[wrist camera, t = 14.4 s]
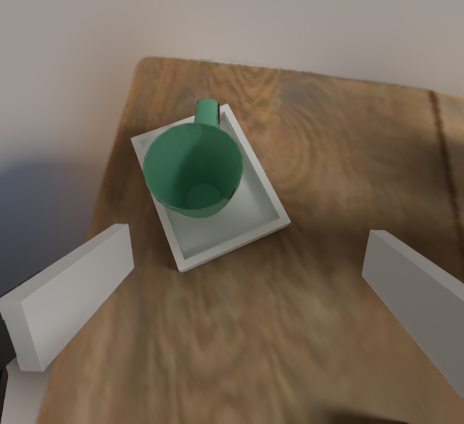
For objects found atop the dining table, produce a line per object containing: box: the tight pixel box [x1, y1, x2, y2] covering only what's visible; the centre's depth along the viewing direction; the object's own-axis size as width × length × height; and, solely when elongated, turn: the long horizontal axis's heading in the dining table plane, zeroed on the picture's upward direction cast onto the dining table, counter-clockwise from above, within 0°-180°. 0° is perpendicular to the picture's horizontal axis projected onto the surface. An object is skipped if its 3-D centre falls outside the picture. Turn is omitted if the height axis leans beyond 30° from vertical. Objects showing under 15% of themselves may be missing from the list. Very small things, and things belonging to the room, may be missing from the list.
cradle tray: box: [130, 104, 291, 273], centre depth 33 cm, size 15×20×2 cm
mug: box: [143, 98, 243, 218], centre depth 29 cm, size 15×10×10 cm
